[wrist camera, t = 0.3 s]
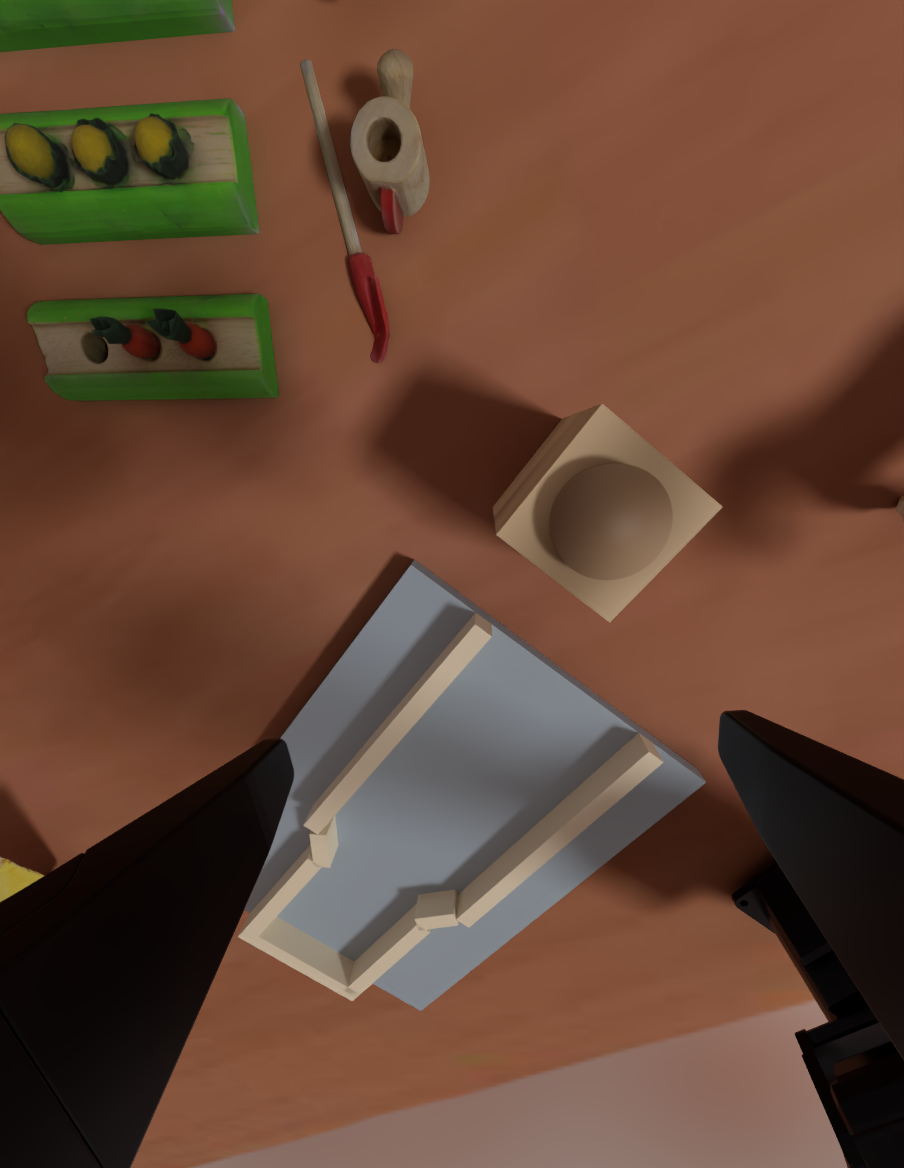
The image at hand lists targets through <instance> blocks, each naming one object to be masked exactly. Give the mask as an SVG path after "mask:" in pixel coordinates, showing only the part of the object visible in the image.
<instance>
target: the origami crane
mask: <svg viewBox="0 0 904 1168" xmlns="http://www.w3.org/2000/svg"><path fill="white" fill-rule="evenodd" d="M43 876H44V875H42V874H40V873H39V872H36V871H32V870H31V869H28V868H25V867H21V866H19V865H16V864H15V863H14V862H13V861H10V860H7V859H5V858H1V857H0V902H1V901H3V900H5V899H6V898H8V897H10V896H12V895H13V894H15V893H17V892H19V891H20V890H22V889H23V888H25V887H27V886H28V885H30V884H32V883H33V882H35V881H37V880H38V879H40V878H42V877H43Z"/></svg>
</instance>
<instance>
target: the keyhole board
mask: <svg viewBox="0 0 904 1168" xmlns="http://www.w3.org/2000/svg"><path fill="white" fill-rule="evenodd" d="M280 739H283V740H285V742H286V744H287V746H288V750H289V753H290V757H291V761H292V764H293V768H294V780H293V784H292V787H291V790H290V793H289V796H288V799H287V802H286V805H285V808H284V811H283V814H282V817H281V820H280V823H279V826H278V829H277V832H276V835H275V838H274V841H273V843H272V846H271V849H270V852H269V854H268V856H267V859H266V861H265V864H264V866H263V868H262V870H261V873H260V875H259V877H258V880H257V882H256V884H255V886H254V889H253V891H252V893H251V895H250V898H249V900H248V902H247V905H246V907H245V909H244V910H246V911H247V912H249V913H250V914H249V916H248V918H247V920H246V922H245V924H244V926H243V928H242V930H241V932H240V934H239V936H238V937H239V938H241V939H243V940H244V941H246V942H248V943H250V944H251V945H253V946H255V947H257V948H258V949H260V950H262V951H264V952H266V953H267V954H269V955H271V956H273V957H274V958H276V959H278V960H280V961H282V962H283V963H285V964H287V965H289V966H290V967H292V968H294V969H296V970H298V971H299V972H301V973H303V974H305V975H306V976H308V977H310V978H312V979H314V980H315V981H317V982H319V983H321V984H322V985H324V986H326V987H328V988H330V989H331V990H333V991H335V992H337V993H338V994H340V995H342V996H344V997H346V998H347V999H349V1000H351V1001H353V1000H354V999H355V998H357V997H358V996H359V995H360V994H361V993H362V992H363V991H364V990H366V989H367V988H368V987H369V986H370V985H371V984H372V983H373V984H375V985H376V986H378V987H380V988H382V989H383V990H385V991H387V992H388V993H390V994H392V995H394V996H395V997H397V998H399V999H401V1000H402V1001H404V1002H406V1003H408V1004H409V1005H411V1006H413V1007H415V1008H416V1009H418V1010H420V1011H421V1010H423V1009H424V1008H425V1007H426V1006H428V1005H429V1004H430V1003H431V1002H433V1001H434V1000H435V999H436V998H438V997H439V996H440V995H441V994H443V993H444V992H445V991H446V990H448V989H449V988H450V987H451V986H453V985H454V984H455V983H456V982H458V981H459V980H460V979H461V978H463V977H464V976H465V975H466V974H468V973H469V972H470V971H471V970H473V969H474V968H475V967H476V966H478V965H479V964H480V963H481V962H483V961H484V960H485V959H486V958H488V957H489V956H490V955H491V954H493V953H494V952H495V951H496V950H498V949H499V948H500V947H501V946H503V945H504V944H505V943H506V942H508V941H509V940H510V939H511V938H513V937H514V936H515V935H516V934H518V933H519V932H520V931H521V930H523V929H524V928H525V927H526V926H528V925H529V924H530V923H531V922H533V921H534V920H535V919H536V918H538V917H539V916H540V915H541V914H543V913H544V912H545V911H546V910H548V909H549V908H550V907H551V906H553V905H554V904H555V903H556V902H558V901H559V900H560V899H561V898H563V897H564V896H565V895H566V894H568V893H569V892H570V891H571V890H573V889H574V888H575V887H576V886H578V885H579V884H580V883H581V882H583V881H584V880H585V879H586V878H588V877H589V876H590V875H591V874H593V873H594V872H595V871H596V870H598V869H599V868H600V867H601V866H602V865H604V864H605V863H606V862H607V861H609V860H610V859H611V858H612V857H614V856H615V855H616V854H617V853H619V852H620V851H621V850H622V849H624V848H625V847H626V846H627V845H629V844H630V843H631V842H632V841H634V840H635V839H636V838H637V837H639V836H640V835H641V834H642V833H644V832H645V831H646V830H647V829H649V828H650V827H651V826H652V825H654V824H655V823H656V822H657V821H659V820H660V819H661V818H662V817H664V816H665V815H666V814H667V813H669V812H670V811H671V810H672V809H674V808H675V807H676V806H677V805H679V804H680V803H681V802H682V801H684V800H685V799H686V798H687V797H689V796H690V795H691V794H692V793H694V792H695V791H696V790H697V789H699V788H700V787H701V786H702V785H704V784H705V783H706V781H705V780H704V778H703V777H702V775H701V774H700V772H699V771H698V769H696V768H695V767H694V766H692V765H691V764H690V763H688V762H687V761H686V760H684V759H683V758H681V757H680V756H679V755H677V754H676V753H675V752H673V751H672V750H671V749H669V748H668V747H667V746H665V745H664V744H663V743H661V742H660V741H659V740H657V739H656V738H654V737H653V736H652V735H650V734H649V733H648V732H646V731H645V730H644V729H642V728H641V727H640V726H638V725H637V724H636V723H634V722H633V721H631V720H630V719H629V718H627V717H626V716H625V715H623V714H622V713H621V712H619V711H618V710H617V709H615V708H614V707H613V706H611V705H610V704H609V703H607V702H606V701H604V700H603V699H602V698H600V697H599V696H598V695H596V694H595V693H594V692H592V691H591V690H590V689H588V688H587V687H586V686H584V685H583V684H582V683H580V682H579V681H577V680H576V679H575V678H573V677H572V676H571V675H569V674H568V673H567V672H565V671H564V670H563V669H561V668H560V667H559V666H557V665H556V664H554V663H553V662H552V661H550V660H549V659H548V658H546V657H545V656H544V655H542V654H541V653H540V652H538V651H537V650H536V649H534V648H533V647H532V646H530V645H529V644H527V643H526V642H525V641H523V640H522V639H521V638H519V637H518V636H517V635H515V634H514V633H513V632H511V631H510V630H509V629H507V628H506V627H505V626H503V625H502V624H500V623H499V622H498V621H496V620H495V619H494V618H492V617H491V616H490V615H488V614H487V613H486V612H484V611H483V610H482V609H480V608H479V607H478V606H476V605H475V604H473V603H472V602H471V601H469V600H468V599H467V598H465V597H464V596H463V595H461V594H460V593H459V592H457V591H456V590H455V589H453V588H452V587H450V586H449V585H448V584H446V583H445V582H444V581H442V580H441V579H440V578H438V577H437V576H436V575H434V574H433V573H432V572H430V571H429V570H428V569H426V568H425V567H423V566H422V565H421V564H419V563H418V562H417V561H415V560H414V561H413V562H412V563H411V565H410V566H409V567H408V569H407V570H406V571H405V573H404V574H403V575H402V577H401V578H400V579H399V581H398V582H397V583H396V585H395V586H394V587H393V589H392V590H391V591H390V593H389V594H388V595H387V597H386V598H385V599H384V601H383V602H382V603H381V605H380V606H379V607H378V609H377V610H376V611H375V613H374V614H373V615H372V617H371V618H370V619H369V621H368V622H367V623H366V625H365V626H364V627H363V628H362V630H361V631H360V632H359V634H358V635H357V636H356V638H355V639H354V640H353V642H352V643H351V644H350V646H349V647H348V648H347V650H346V651H345V652H344V654H343V655H342V656H341V658H340V659H339V660H338V662H337V663H336V664H335V666H334V667H333V668H332V670H331V671H330V672H329V674H328V675H327V676H326V678H325V679H324V680H323V682H322V683H321V684H320V686H319V687H318V688H317V690H316V691H315V692H314V694H313V695H312V696H311V698H310V699H309V700H308V702H307V703H306V704H305V706H304V707H303V708H302V710H301V711H300V712H299V714H298V715H297V716H296V718H295V719H294V720H293V721H292V723H291V724H290V725H289V727H288V728H287V729H286V731H285V732H284V733H283V735H282V736H281V737H280Z"/></svg>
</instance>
